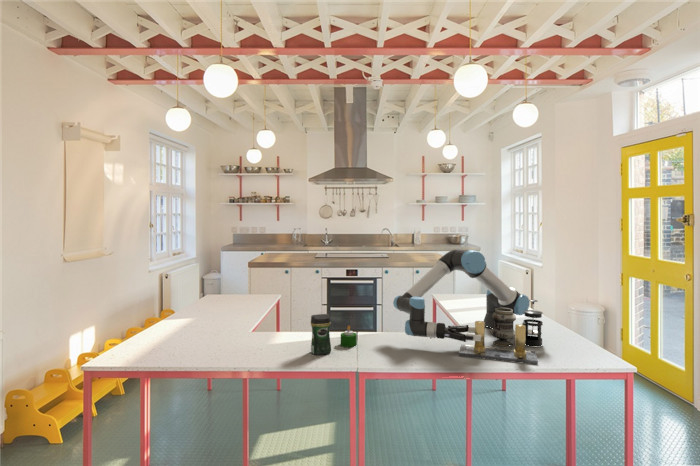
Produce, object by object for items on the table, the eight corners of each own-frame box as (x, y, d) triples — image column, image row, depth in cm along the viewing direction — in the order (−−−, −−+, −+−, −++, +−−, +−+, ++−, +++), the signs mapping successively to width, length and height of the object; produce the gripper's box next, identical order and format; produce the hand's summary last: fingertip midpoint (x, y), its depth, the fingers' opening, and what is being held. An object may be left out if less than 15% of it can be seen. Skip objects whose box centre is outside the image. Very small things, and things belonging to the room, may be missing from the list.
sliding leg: (473, 353, 194) (473, 324, 194) (474, 348, 202) (474, 320, 202) (484, 354, 193) (484, 325, 192) (485, 349, 201) (485, 321, 200)
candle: (343, 341, 218) (343, 322, 218) (358, 343, 215) (358, 324, 215) (338, 346, 210) (338, 326, 210) (353, 348, 207) (353, 328, 207)
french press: (532, 340, 220) (533, 297, 219) (547, 345, 211) (548, 300, 210) (516, 343, 215) (516, 299, 214) (530, 348, 207) (531, 302, 206)
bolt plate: (458, 355, 196) (459, 324, 195) (461, 347, 209) (461, 317, 208) (537, 364, 184) (538, 330, 184) (535, 354, 197) (535, 323, 197)
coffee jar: (328, 349, 205) (328, 312, 205) (332, 354, 198) (332, 315, 197) (309, 351, 203) (309, 313, 202) (312, 356, 195) (312, 317, 194)
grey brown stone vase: (504, 348, 207) (504, 312, 206) (485, 342, 217) (486, 308, 217) (520, 345, 212) (521, 310, 212) (502, 339, 223) (502, 305, 222)
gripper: (440, 331, 217) (482, 335, 210) (432, 345, 194) (480, 350, 187) (440, 317, 217) (482, 320, 210) (432, 329, 194) (480, 333, 187)
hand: (481, 334), depth 198 cm, fingers open, 13 cm apart
